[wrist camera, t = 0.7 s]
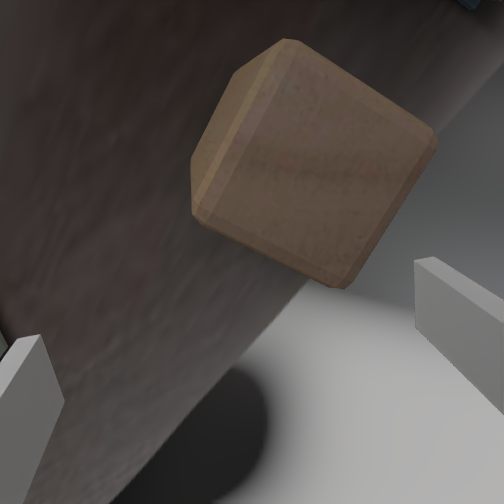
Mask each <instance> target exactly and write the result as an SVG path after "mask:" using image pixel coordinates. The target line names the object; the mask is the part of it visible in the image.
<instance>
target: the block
mask: <svg viewBox="0 0 504 504" xmlns="http://www.w3.org/2000/svg"><path fill="white" fill-rule="evenodd" d="M438 141H439V140H438V138H437V137H436V135H435V134H434V133H433V131H432V130H431V128H430V126H429V125H427V124H425V123H424V122H422V121H421V120H419V119H418V118H416V117H415V116H413V115H412V114H410V113H409V112H407V111H406V110H404V109H403V108H401V107H400V106H398V105H396V104H395V103H393V102H392V101H390V100H389V99H387V98H386V97H384V96H383V95H381V94H380V93H378V92H377V91H375V90H374V89H372V88H371V87H369V86H367V85H366V84H364V83H363V82H361V81H360V80H358V79H357V78H355V77H354V76H352V75H351V74H349V73H348V72H346V71H345V70H343V69H342V68H340V67H338V66H337V65H335V64H334V63H332V62H331V61H329V60H328V59H326V58H325V57H323V56H322V55H320V54H319V53H317V52H316V51H314V50H313V49H311V48H309V47H308V46H306V45H305V44H303V43H302V42H300V41H297V40H291V39H284V38H283V39H282V40H280V41H279V42H277V43H276V44H274V45H273V46H271V47H270V48H269V49H267V50H266V51H264V52H263V53H261V54H260V55H258V56H257V57H255V58H254V59H252V60H251V61H249V62H248V63H247V64H245V65H244V66H242V67H241V68H239V69H238V70H237V71H236V72H235V73H234V74H233V76H232V78H231V80H230V82H229V84H228V86H227V88H226V90H225V92H224V94H223V96H222V98H221V100H220V101H219V103H218V105H217V107H216V109H215V111H214V113H213V115H212V117H211V119H210V121H209V123H208V125H207V127H206V129H205V131H204V133H203V135H202V137H201V139H200V141H199V143H198V145H197V147H196V149H195V151H194V153H193V155H192V157H191V165H190V170H191V200H192V215H193V216H194V217H195V218H196V219H197V220H198V221H199V223H200V224H201V225H202V226H205V227H207V228H209V229H211V230H213V231H215V232H217V233H219V234H221V235H223V236H225V237H227V238H229V239H231V240H233V241H235V242H237V243H239V244H241V245H243V246H245V247H247V248H250V249H252V250H254V251H256V252H258V253H260V254H262V255H264V256H266V257H268V258H270V259H272V260H274V261H276V262H278V263H280V264H282V265H284V266H286V267H288V268H290V269H292V270H294V271H297V272H299V273H301V274H303V275H305V276H307V277H309V278H311V279H313V280H315V281H317V282H319V283H321V284H323V285H325V286H327V287H332V288H340V289H345V288H346V287H348V286H349V285H350V284H351V283H352V282H353V281H354V279H355V278H356V276H357V275H358V273H359V271H360V270H361V268H362V267H363V265H364V263H365V262H366V260H367V259H368V257H369V256H370V254H371V252H372V251H373V249H374V248H375V246H376V245H377V243H378V241H379V240H380V238H381V237H382V235H383V234H384V232H385V230H386V229H387V227H388V226H389V224H390V223H391V221H392V219H393V218H394V216H395V215H396V213H397V211H398V210H399V208H400V207H401V205H402V203H403V202H404V200H405V199H406V197H407V196H408V194H409V193H410V191H411V189H412V188H413V186H414V184H415V183H416V181H417V180H418V178H419V177H420V175H421V174H422V172H423V171H424V169H425V167H426V166H427V164H428V163H429V161H430V159H431V157H432V156H433V155H434V153H435V151H436V148H437V145H438Z"/></svg>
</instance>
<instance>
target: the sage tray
mask: <svg viewBox="0 0 504 504" xmlns="http://www.w3.org/2000/svg"><path fill="white" fill-rule="evenodd" d="M7 348H8V345H7V343H6V341H5V339H4V337H3V335H2V333H1V331H0V357H1V356H2V354H3V353H4V352H5V350H6V349H7Z"/></svg>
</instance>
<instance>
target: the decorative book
mask: <svg viewBox="0 0 504 504" xmlns="http://www.w3.org/2000/svg"><path fill="white" fill-rule="evenodd" d="M457 1H458V2H460V3H461V4H462V5H463V6H464V7H466V8H467V9H468V10H469V11H472V10H475V9H476V7H477V5H478V4H479V2H480V1H481V0H457ZM492 1H493V2H495V3H497V2H500V1H501V0H492Z"/></svg>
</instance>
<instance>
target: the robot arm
mask: <svg viewBox="0 0 504 504" xmlns="http://www.w3.org/2000/svg"><path fill="white" fill-rule="evenodd" d="M414 289H415V323H416V328H417V329H418V330H419V331H420V332H421V333H422V334H423V335H424V336H425V337H426V338H427V339H428V340H429V341H430V342H431V343H432V344H433V345H434V346H435V347H436V348H437V349H438V350H439V351H440V352H441V353H442V354H443V355H444V356H445V357H446V358H447V359H448V360H449V361H450V362H451V363H452V364H453V365H454V366H455V367H456V368H457V369H458V370H459V371H460V372H461V373H462V374H463V375H464V376H465V377H466V378H467V379H468V380H469V381H470V382H471V383H472V384H473V385H474V386H475V387H476V388H477V389H478V390H479V391H480V392H481V393H482V394H483V395H484V396H485V397H486V398H487V399H488V400H489V401H490V402H491V403H492V404H493V405H494V406H495V407H496V408H497V409H498V410H499V411H500V412H501V413H502V414H503V415H504V300H503V299H501V298H499V297H498V296H496V295H495V294H493V293H491V292H490V291H488V290H487V289H485V288H483V287H482V286H480V285H479V284H477V283H475V282H474V281H472V280H471V279H469V278H468V277H466V276H465V275H463V274H461V273H460V272H458V271H457V270H455V269H453V268H452V267H450V266H449V265H447V264H445V263H444V262H442V261H441V260H439V259H438V258H436V257H434V256H433V257H428V258H422V259H418V260H414ZM64 402H65V401H64V398H63V395H62V393H61V390H60V387H59V384H58V382H57V379H56V376H55V373H54V370H53V368H52V365H51V362H50V359H49V356H48V354H47V351H46V348H45V345H44V343H43V340H42V337H41V334H39V335H34V336H29V337H24V338H19V339H17V340H16V341H15V343H14V344H13V345H12V347H11V348H10V349H9V351H8V352H7V354H6V355H5V356H4V358H3V359H2V361H1V362H0V504H23V502H24V499H25V497H26V494H27V492H28V489H29V487H30V485H31V482H32V480H33V477H34V475H35V472H36V470H37V468H38V465H39V463H40V460H41V458H42V455H43V453H44V450H45V448H46V446H47V443H48V441H49V438H50V436H51V433H52V431H53V429H54V426H55V424H56V421H57V419H58V416H59V414H60V412H61V409H62V407H63V404H64Z"/></svg>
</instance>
